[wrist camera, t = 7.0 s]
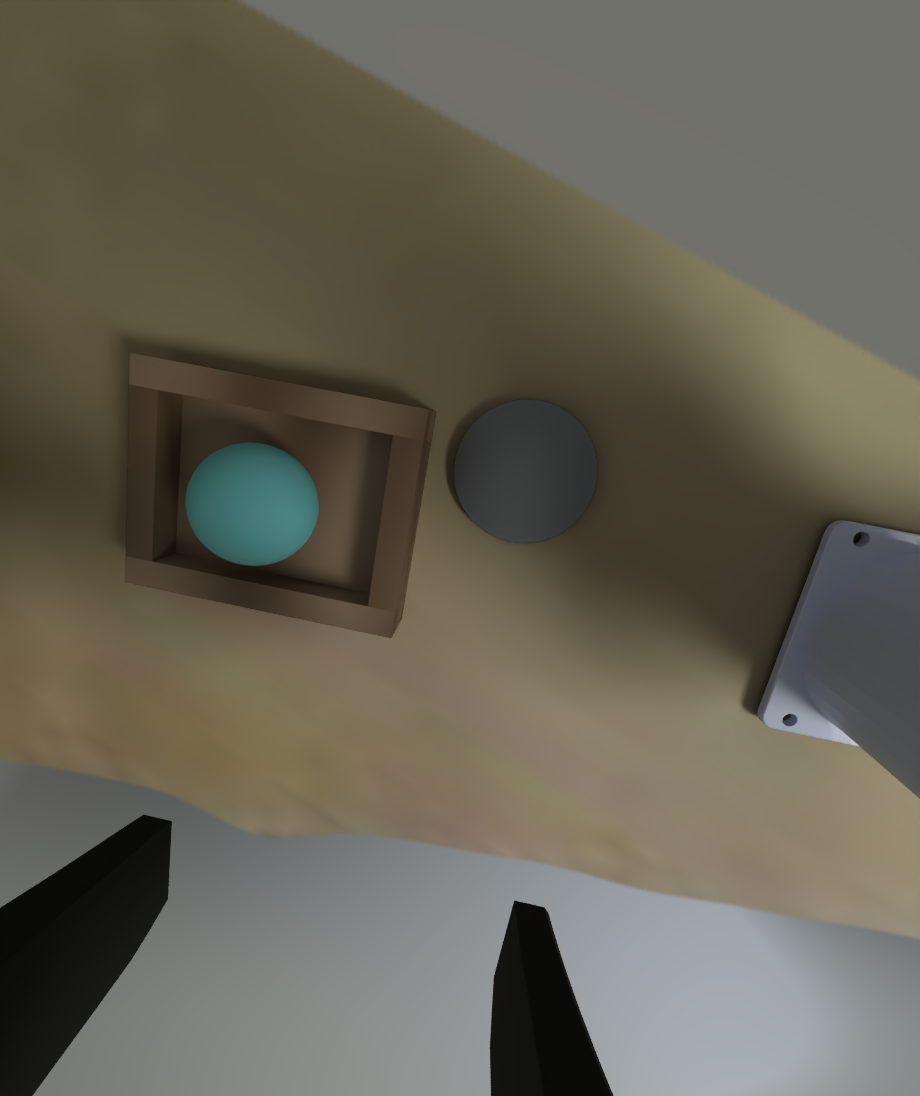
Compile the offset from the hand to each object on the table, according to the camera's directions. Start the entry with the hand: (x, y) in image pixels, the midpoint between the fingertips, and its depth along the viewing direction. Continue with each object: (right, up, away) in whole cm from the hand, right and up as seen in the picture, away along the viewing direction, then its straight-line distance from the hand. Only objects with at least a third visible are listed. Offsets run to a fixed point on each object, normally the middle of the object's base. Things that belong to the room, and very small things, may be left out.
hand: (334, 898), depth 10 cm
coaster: (+5, +10, +7) cm, 13 cm away
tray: (-4, +9, +8) cm, 13 cm away
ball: (-4, +9, +8) cm, 13 cm away
